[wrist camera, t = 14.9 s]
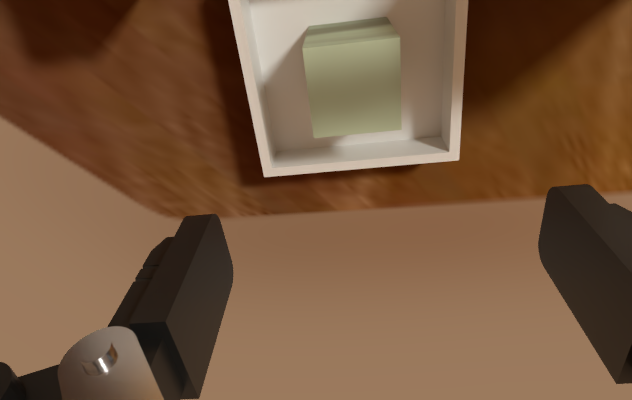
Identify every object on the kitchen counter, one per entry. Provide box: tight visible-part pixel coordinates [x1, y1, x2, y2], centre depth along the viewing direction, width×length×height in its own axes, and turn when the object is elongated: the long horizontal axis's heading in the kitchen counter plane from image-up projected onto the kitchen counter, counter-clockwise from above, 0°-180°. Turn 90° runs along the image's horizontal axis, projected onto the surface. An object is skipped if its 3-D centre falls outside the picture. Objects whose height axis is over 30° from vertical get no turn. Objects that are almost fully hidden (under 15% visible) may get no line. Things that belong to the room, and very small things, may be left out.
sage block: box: [302, 17, 402, 138], centre depth 24 cm, size 4×4×6 cm
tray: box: [228, 0, 468, 177], centre depth 25 cm, size 12×12×3 cm
